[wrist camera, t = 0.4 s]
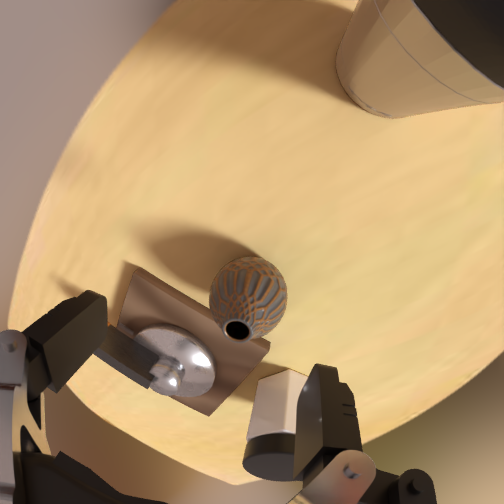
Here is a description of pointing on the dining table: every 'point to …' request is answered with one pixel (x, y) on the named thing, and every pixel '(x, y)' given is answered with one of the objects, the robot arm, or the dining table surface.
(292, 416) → the jar
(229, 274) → the vase
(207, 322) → the base
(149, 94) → the dining table surface
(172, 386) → the knob
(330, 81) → the dining table surface
